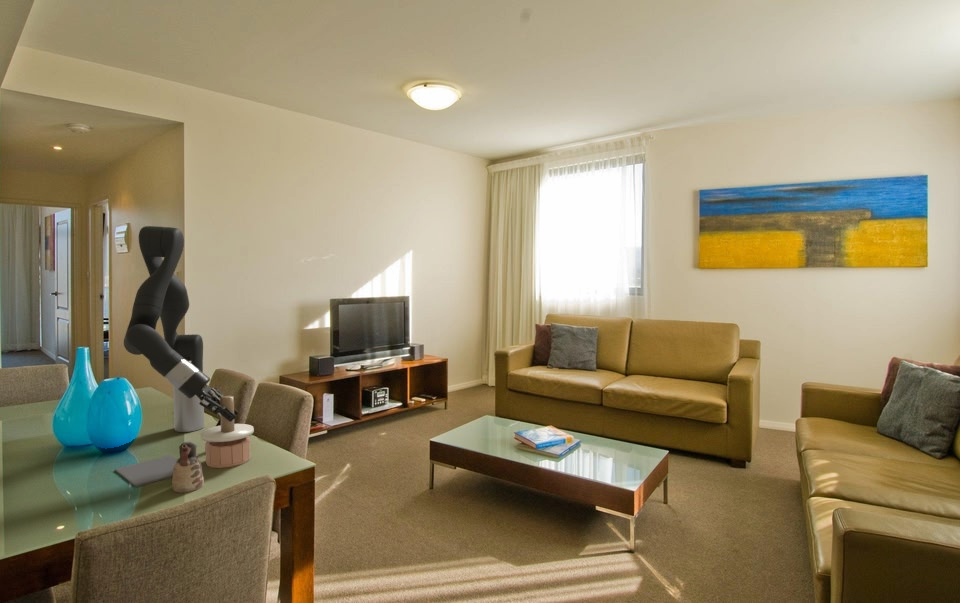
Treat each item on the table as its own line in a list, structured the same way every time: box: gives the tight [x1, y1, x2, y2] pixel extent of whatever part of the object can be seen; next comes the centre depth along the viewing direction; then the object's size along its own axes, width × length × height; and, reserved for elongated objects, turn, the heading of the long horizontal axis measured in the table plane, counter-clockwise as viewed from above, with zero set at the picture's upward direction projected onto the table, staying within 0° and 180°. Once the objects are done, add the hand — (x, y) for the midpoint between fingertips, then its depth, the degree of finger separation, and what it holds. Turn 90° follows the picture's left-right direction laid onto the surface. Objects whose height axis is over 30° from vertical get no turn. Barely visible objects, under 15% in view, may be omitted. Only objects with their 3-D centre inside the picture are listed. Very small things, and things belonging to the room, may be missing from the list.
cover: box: [200, 395, 255, 442], centre depth 153 cm, size 14×14×11 cm
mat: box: [114, 454, 178, 488], centre depth 146 cm, size 17×14×1 cm
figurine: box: [171, 441, 205, 494], centre depth 135 cm, size 7×7×12 cm
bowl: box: [204, 436, 251, 469], centre depth 154 cm, size 12×12×6 cm
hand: (234, 416), depth 153 cm, fingers closed on cover, 3 cm apart
